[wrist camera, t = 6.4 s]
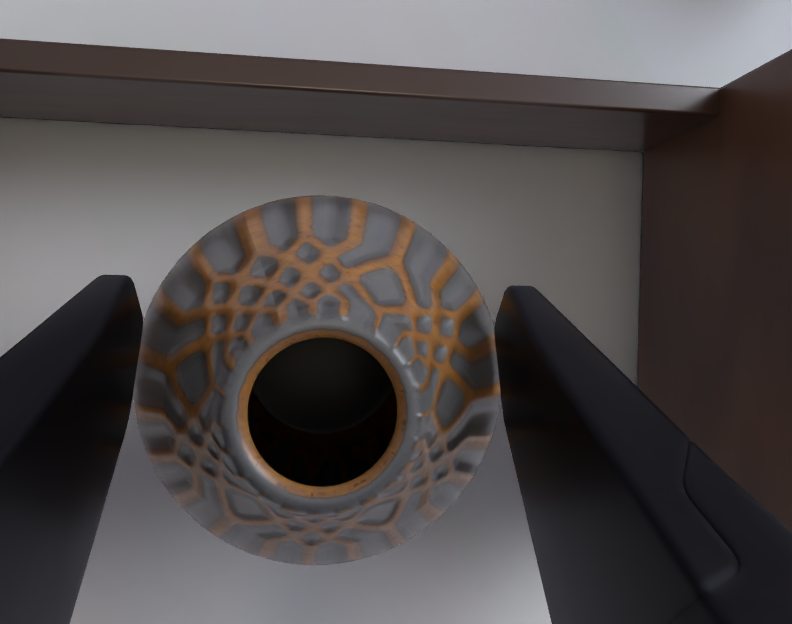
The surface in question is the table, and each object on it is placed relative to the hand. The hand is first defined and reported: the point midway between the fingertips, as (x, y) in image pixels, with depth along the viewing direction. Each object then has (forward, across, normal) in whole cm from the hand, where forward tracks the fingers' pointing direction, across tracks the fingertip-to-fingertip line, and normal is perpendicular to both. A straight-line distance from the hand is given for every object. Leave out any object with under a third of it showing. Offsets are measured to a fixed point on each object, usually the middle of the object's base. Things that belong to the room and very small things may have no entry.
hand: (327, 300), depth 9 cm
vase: (+4, 0, +6) cm, 7 cm away
